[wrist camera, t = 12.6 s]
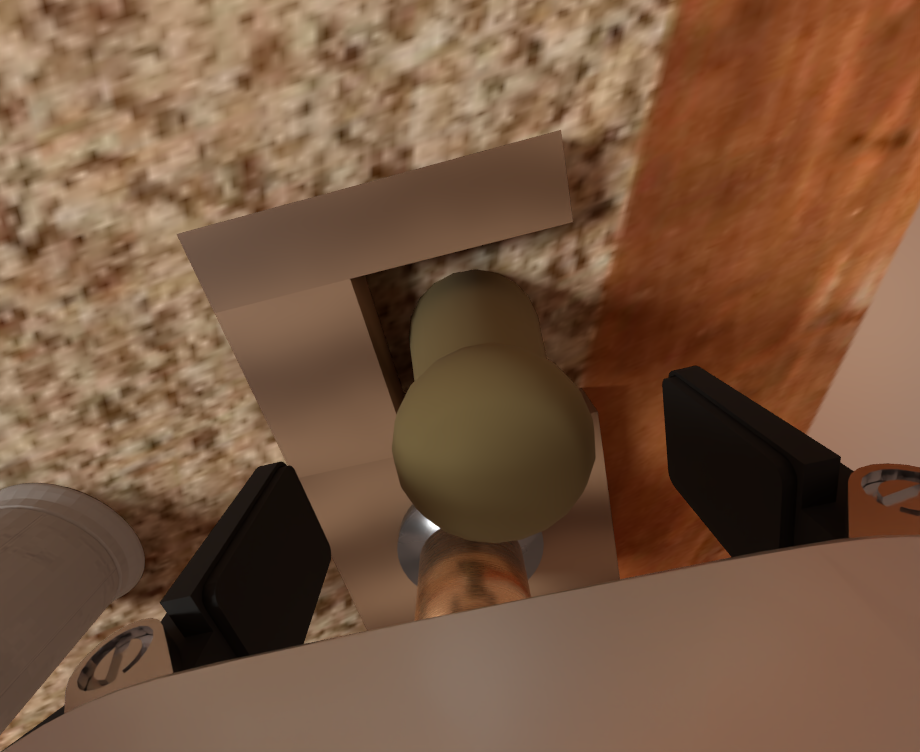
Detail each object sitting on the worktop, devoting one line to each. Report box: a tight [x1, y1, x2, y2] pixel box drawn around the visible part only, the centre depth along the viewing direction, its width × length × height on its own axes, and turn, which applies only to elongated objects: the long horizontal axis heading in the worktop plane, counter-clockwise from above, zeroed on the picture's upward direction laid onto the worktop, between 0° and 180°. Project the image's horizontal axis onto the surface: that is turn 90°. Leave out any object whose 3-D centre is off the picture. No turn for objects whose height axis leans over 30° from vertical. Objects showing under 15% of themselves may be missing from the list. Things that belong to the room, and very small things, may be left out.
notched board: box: [177, 130, 620, 631], centre depth 20 cm, size 22×14×2 cm, turn 14°
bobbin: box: [397, 504, 544, 621], centre depth 17 cm, size 7×7×8 cm
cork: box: [392, 270, 596, 543], centre depth 15 cm, size 6×6×11 cm
